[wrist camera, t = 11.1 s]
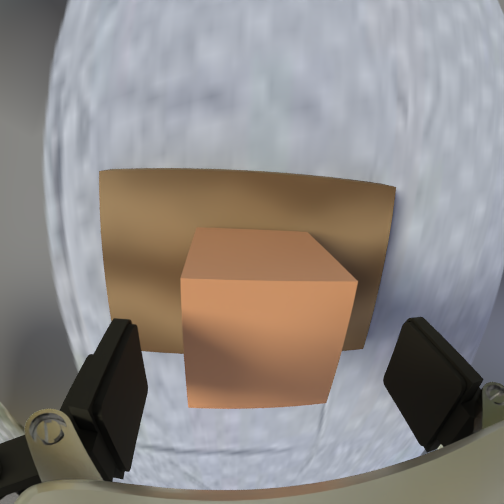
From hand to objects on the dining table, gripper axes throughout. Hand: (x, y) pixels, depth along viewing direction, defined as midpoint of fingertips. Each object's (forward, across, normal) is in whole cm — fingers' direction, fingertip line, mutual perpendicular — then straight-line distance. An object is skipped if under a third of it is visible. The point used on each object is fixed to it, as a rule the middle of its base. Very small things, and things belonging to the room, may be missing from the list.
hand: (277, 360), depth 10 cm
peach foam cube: (+8, 0, +1) cm, 8 cm away
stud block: (+11, 0, +1) cm, 11 cm away
